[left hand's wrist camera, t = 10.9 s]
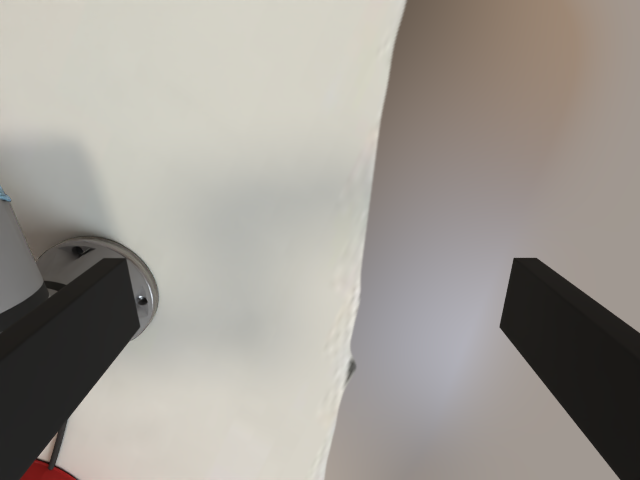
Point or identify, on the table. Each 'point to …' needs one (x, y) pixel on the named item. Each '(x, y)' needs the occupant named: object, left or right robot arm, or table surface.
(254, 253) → the table surface
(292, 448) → the table surface
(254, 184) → the table surface
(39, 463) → the bucket
